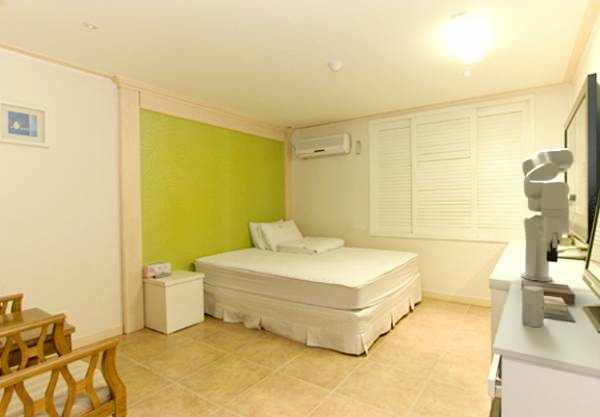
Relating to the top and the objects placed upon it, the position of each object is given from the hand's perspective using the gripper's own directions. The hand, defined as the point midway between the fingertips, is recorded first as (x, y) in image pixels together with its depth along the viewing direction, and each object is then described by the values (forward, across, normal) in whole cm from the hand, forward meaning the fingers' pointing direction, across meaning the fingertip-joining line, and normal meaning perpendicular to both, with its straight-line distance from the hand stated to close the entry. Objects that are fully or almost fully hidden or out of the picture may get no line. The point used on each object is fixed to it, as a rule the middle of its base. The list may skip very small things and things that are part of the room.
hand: (551, 261), depth 124 cm
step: (+17, -11, 0) cm, 21 cm away
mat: (+17, +6, -2) cm, 18 cm away
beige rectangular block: (+13, +7, 0) cm, 15 cm away
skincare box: (+17, +24, -8) cm, 30 cm away
